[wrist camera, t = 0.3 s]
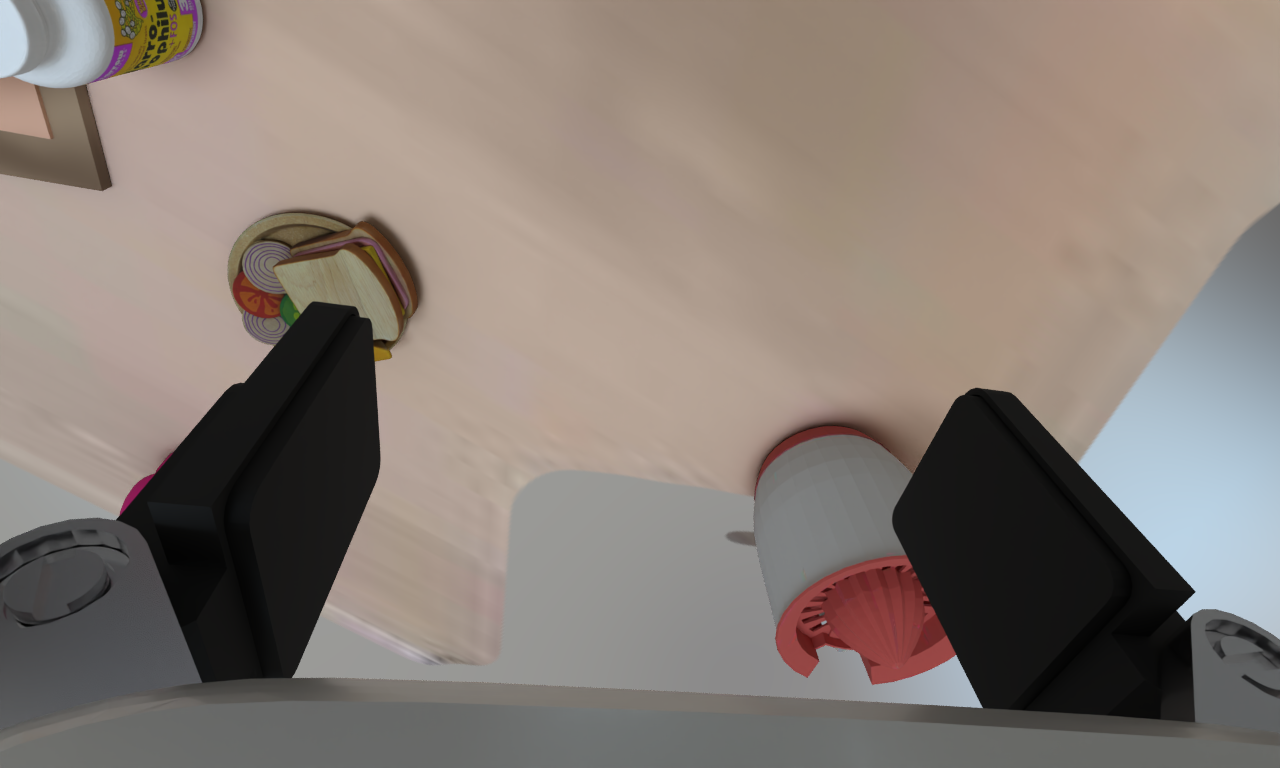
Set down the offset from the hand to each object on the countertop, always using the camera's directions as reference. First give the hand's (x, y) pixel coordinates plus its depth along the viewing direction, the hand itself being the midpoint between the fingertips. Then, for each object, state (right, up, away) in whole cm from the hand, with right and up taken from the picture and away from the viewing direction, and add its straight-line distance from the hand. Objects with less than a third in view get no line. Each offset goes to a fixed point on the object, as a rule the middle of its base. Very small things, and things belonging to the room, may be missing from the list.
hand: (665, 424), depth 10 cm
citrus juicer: (+16, -8, +51) cm, 54 cm away
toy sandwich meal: (-24, +8, +37) cm, 45 cm away
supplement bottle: (-29, +23, +27) cm, 45 cm away
